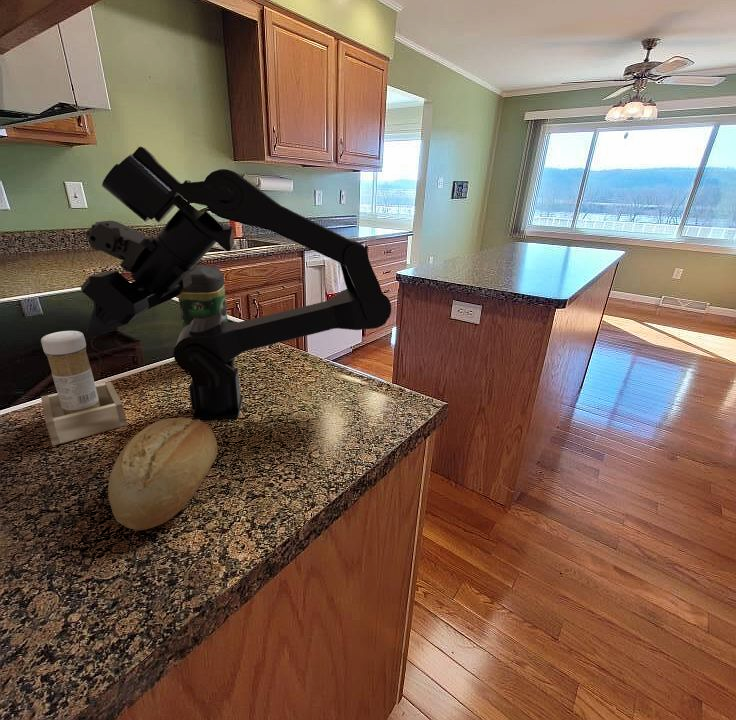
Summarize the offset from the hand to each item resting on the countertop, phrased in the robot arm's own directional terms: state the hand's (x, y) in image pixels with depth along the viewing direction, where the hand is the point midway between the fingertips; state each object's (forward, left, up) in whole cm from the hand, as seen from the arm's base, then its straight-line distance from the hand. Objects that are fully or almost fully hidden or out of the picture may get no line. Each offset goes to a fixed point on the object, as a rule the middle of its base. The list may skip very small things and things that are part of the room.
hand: (110, 323), depth 56 cm
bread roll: (-12, +20, -14) cm, 27 cm away
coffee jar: (-9, -18, -14) cm, 25 cm away
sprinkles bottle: (+4, +4, -14) cm, 15 cm away
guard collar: (+4, +4, -14) cm, 15 cm away
